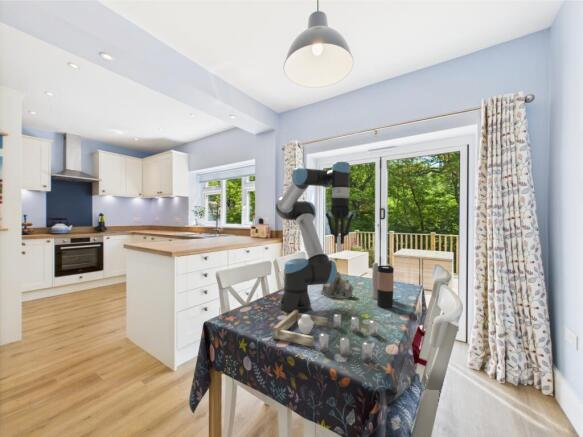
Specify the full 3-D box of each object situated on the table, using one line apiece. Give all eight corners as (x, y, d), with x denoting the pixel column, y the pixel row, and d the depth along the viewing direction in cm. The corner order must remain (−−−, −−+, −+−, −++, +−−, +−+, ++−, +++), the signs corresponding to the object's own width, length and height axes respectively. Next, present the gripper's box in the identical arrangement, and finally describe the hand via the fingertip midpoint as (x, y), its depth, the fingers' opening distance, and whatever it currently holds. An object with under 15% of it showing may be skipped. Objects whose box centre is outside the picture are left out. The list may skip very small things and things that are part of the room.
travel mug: (374, 305, 129) (374, 266, 129) (381, 302, 134) (381, 264, 134) (388, 310, 123) (389, 268, 123) (395, 306, 129) (396, 267, 129)
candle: (399, 300, 138) (400, 263, 138) (374, 299, 139) (374, 263, 139) (394, 296, 146) (395, 261, 145) (370, 295, 146) (370, 261, 146)
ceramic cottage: (316, 293, 149) (319, 267, 149) (338, 290, 157) (341, 266, 156) (333, 302, 135) (335, 275, 135) (356, 299, 143) (358, 273, 143)
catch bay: (273, 338, 93) (273, 327, 92) (295, 318, 111) (295, 309, 111) (311, 347, 87) (312, 335, 87) (327, 325, 105) (328, 315, 105)
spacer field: (318, 350, 85) (318, 335, 85) (334, 325, 105) (334, 313, 105) (371, 362, 78) (371, 346, 78) (377, 333, 98) (377, 320, 98)
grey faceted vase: (316, 332, 98) (317, 314, 98) (306, 337, 94) (306, 318, 93) (304, 327, 102) (304, 310, 102) (294, 332, 98) (294, 314, 98)
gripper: (323, 197, 111) (322, 251, 112) (353, 196, 106) (352, 253, 106) (328, 198, 118) (327, 249, 118) (357, 198, 112) (355, 251, 113)
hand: (339, 251), depth 112 cm, fingers closed
